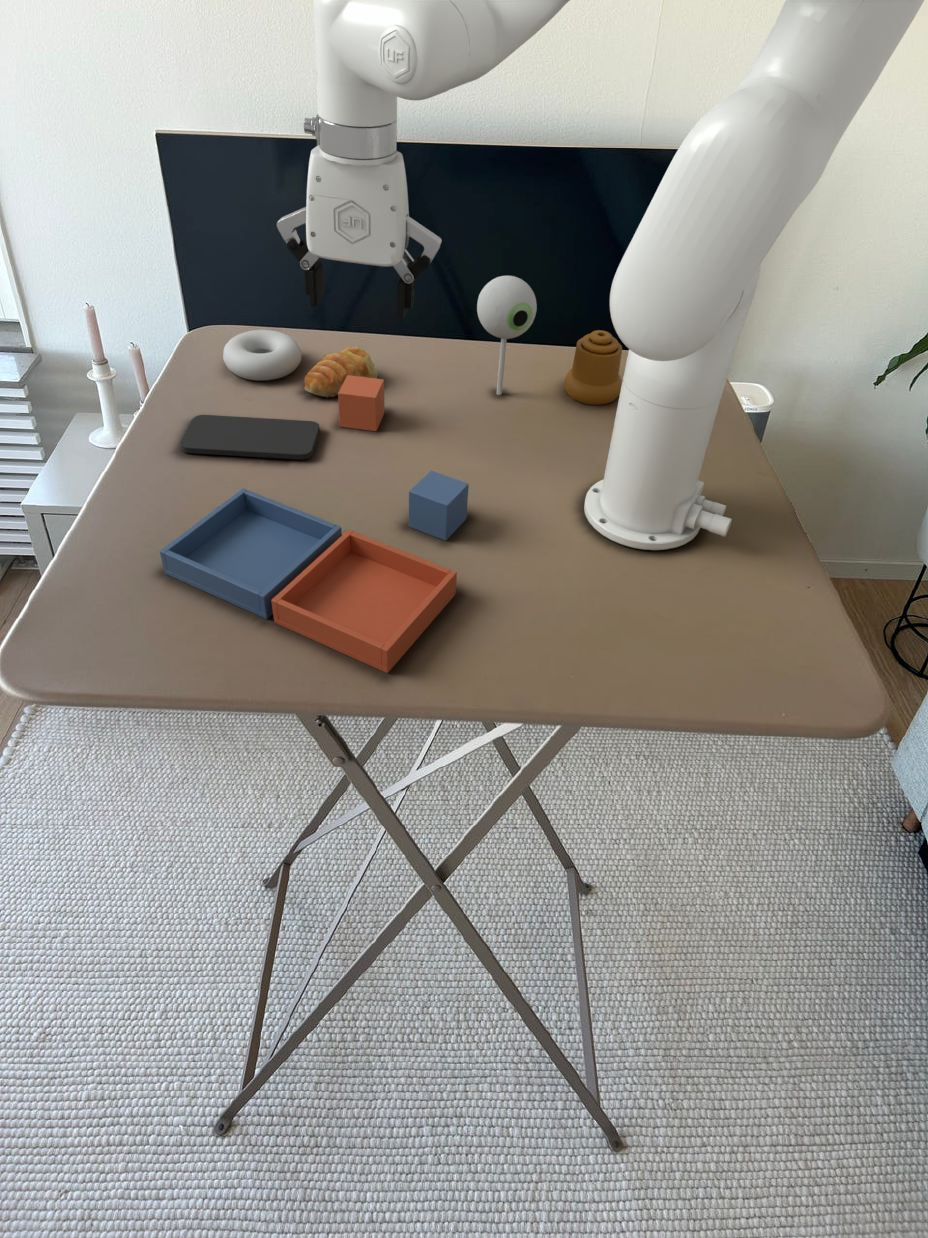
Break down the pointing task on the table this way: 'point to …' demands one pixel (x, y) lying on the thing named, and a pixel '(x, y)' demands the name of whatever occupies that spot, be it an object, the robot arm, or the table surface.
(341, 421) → the terracotta block
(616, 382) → the ornamental finial
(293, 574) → the slate bin
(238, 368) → the donut
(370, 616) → the terracotta bin
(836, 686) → the table surface
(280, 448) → the phone
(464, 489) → the slate block
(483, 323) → the lollipop
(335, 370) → the pastry
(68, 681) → the table surface
